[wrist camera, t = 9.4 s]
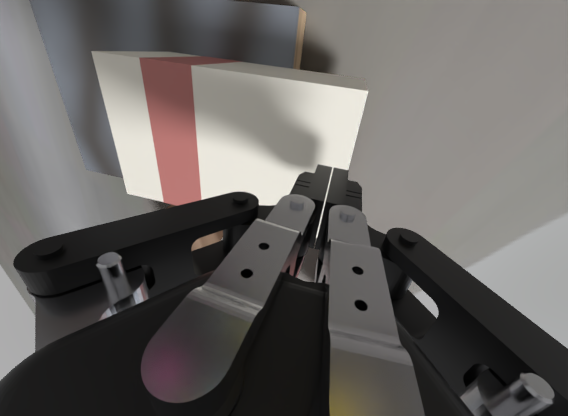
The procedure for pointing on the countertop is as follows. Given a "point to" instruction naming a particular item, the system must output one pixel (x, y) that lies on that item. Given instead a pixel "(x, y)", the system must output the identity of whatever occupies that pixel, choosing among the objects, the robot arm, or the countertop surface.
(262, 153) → the carton
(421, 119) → the countertop surface
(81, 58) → the podium
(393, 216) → the countertop surface
